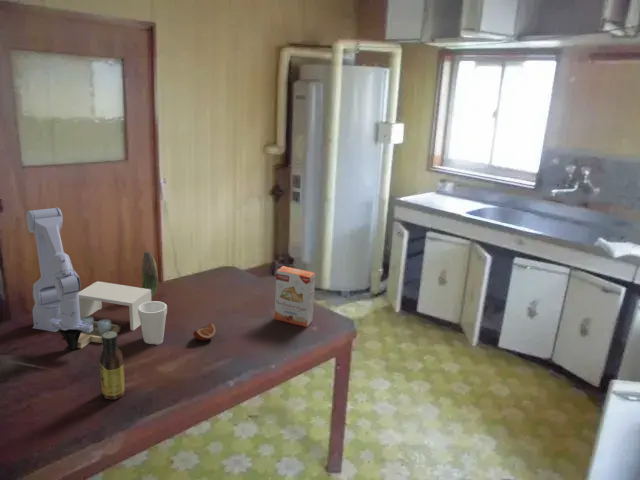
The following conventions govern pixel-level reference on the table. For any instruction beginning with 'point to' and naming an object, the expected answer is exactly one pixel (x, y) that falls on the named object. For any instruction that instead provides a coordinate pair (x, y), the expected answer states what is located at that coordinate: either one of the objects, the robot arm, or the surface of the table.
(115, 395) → the sauce bottle
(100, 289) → the shelf
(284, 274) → the cracker box
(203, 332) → the fruit slice
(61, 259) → the robot arm
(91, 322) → the pale blue rounded cylinder
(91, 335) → the serving board
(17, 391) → the table surface
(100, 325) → the grey-blue tapered cylinder
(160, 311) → the foam cup
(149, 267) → the vegetable
